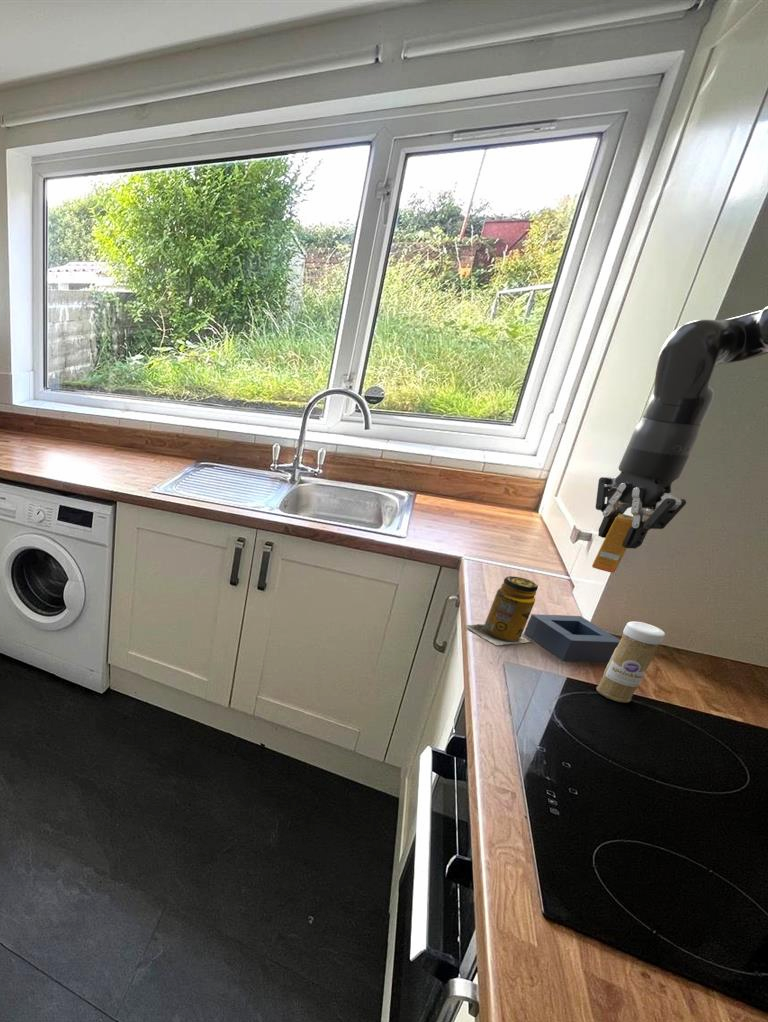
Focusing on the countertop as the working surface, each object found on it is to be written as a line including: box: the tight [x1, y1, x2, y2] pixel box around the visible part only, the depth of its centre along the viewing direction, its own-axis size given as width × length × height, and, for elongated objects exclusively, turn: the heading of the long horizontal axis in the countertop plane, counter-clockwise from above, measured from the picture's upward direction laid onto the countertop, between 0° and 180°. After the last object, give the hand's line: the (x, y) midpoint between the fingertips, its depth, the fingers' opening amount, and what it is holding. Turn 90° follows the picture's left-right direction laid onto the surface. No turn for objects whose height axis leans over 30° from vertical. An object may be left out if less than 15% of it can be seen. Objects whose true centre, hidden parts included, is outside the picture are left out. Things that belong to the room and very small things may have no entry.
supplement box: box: [591, 513, 633, 574], centre depth 103 cm, size 3×3×10 cm
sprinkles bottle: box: [596, 620, 666, 704], centre depth 96 cm, size 5×5×13 cm
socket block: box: [523, 613, 621, 664], centre depth 112 cm, size 10×10×4 cm
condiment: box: [464, 575, 539, 646], centre depth 115 cm, size 7×8×12 cm
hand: (616, 541), depth 103 cm, fingers closed on supplement box, 4 cm apart
